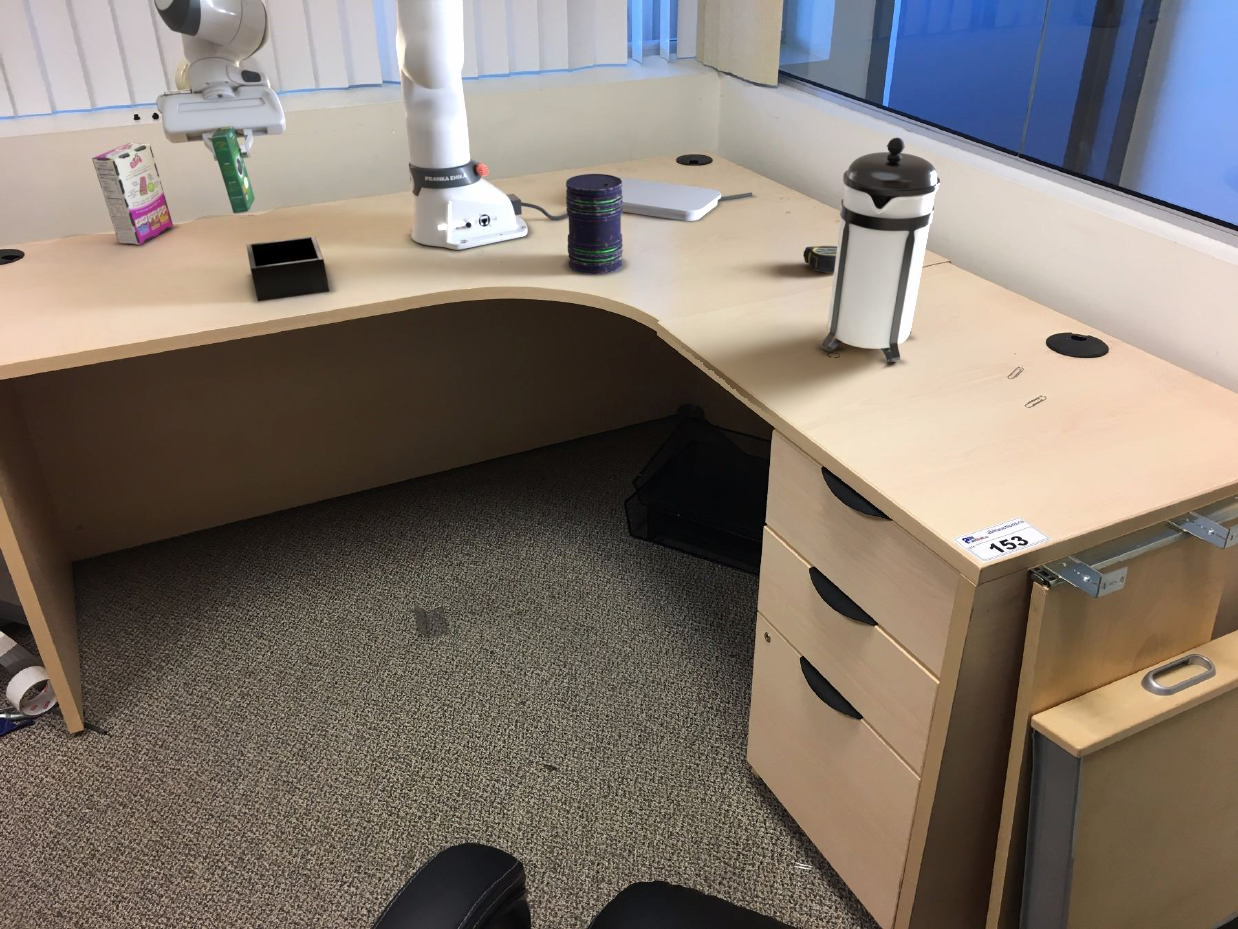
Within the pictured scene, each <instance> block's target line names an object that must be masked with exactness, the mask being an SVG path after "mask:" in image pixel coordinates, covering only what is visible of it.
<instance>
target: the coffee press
mask: <svg viewBox="0 0 1238 929" xmlns="http://www.w3.org/2000/svg"><path fill="white" fill-rule="evenodd" d="M886 148H887V151H881V152H880V151H879V152H873V153H867V154H864V155H861V156H859V157H857V158H856V159H854V160H853V161H852V162H851V163H850V165H849V166H848V168H847V170H846V171H845V172H844V173H843V176H842V182H843V185H844V190H843V191H844V192H843V198H842V199H841V202H840V208H839V209H840V210H839V216H840V223H839V231H838V239H837V254H836V262H835V269H834V273H833V277H832V278H833V279H832V287H831V295H830V302H829V312H828V320H827V328H828V330H829V331H828V333H827V335H826V337H825V338H824V339H823V340H822V342H821V348H822V349H824V350H825V351H826V352H828V353H832V352H834V350H836V348H837V347H838V346H840V344H842V343H844V344H847V345H850V346H852V347H856V348H860V349H869V350H870V349H871V350H872V349H873V350H879V349H880V350H881V351H882V352H883V354H884V356H885V357H884V358H885V360H886V361H887V363H889V364H890V363H896V362H899V361H900V360H901V354H900V348H899V345H901V344H902V343H904V342H905V341H906V340H907V339H908V338H909V337H910V336H911V334H912V330H911V328H912V323H913V318H914V312H915V307H916V302H917V297H918V291H919V286H920V278H921V274H922V269H923V263H924V258H925V257H924V256H925V251H926V246H927V240H928V235H929V229H930V225H931V224H932V222H933V218H934V217H933V216H934V212H935V211H934V210H935V207H934V201H935V195H936V193H937V191H938V189H939V188H940V184H941V179H940V177H939V176H938V173H937V169H936V168H935V166H934V165H933V164H932V163H931V162H930V161H929V160H926V159H925V158H923V157H920V156H917V155H914V154H910V153H903V151H904V150H905V149H906V145H905V142H904V140H903V139H902V138H900V137H893V138H891V139H890V140H889V141H888V143H887V145H886ZM834 338H835V339H834Z"/></svg>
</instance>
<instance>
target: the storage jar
mask: <svg viewBox="0 0 1238 929" xmlns="http://www.w3.org/2000/svg"><path fill="white" fill-rule="evenodd" d="M620 178H621V177H618V176H615V175H613V174H612V175H611V174H604V173H586V174H585V173H584V174H579V175H578V174H577V175H574V176H570V177H568V179H566V181H565V187H566V190H565V194H566V196H565V205H566V210H565V211H566V214H567V215H568V216H569V217H568V235H567V253H568V254H567V255H568V268H569V269H570V270H572V271H573V272H576V273H579V274H583V275H591V276H592V275H594V276H595V275H597V276H598V275H606V274H612V273H614V272H617V271H620V269H621V268H622V267H623V260H622V258H623V250H624V247H623V245H624V244H623V241H624V240H623V233H622V214H623V212H622V210H623V208H622V203H623V196H622V189H621V187H622V180H621V179H620Z"/></svg>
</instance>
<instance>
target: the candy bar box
mask: <svg viewBox="0 0 1238 929" xmlns="http://www.w3.org/2000/svg"><path fill="white" fill-rule="evenodd" d="M151 145H152V144H151V143H142V142H128V143H126V144H123V145H121V146H118V147H116V148H113V149H111V150H108V151H106V152H103V153H101V154H99V155H96V156H94V157H92V158H91V160H92V163H93V166H94V169H95V170H94V171H95V173H96V176H97V180H98V182H99V185H100V189H101V192H102V195H103V197H104V201H105V204H106V207H107V210H108V213H109V216H110V219H111V223H112V226H113V230H114V232H115V235H116V238H117V242H118V244H121V245H131V246H133V245H136V246H140V245H143V244H145V243H146V242H148V241H151V240H152V239H154V238H155V237H156V238H157V236H159V235H161V234H163V233H164V232H166V231H168V230H171V229H172V228H173V227H174V223H173V221H172V220H173V219H172V216H171V213H170V209H169V206H168V203H167V199H166V196H165V192H164V189H163V186H162V185H163V184H162V181H161V178H160V174H159V171H158V167H157V164H156V163H157V162H156V159H155V156H154V153H153V150H152V146H151Z"/></svg>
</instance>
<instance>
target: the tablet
mask: <svg viewBox="0 0 1238 929" xmlns="http://www.w3.org/2000/svg"><path fill="white" fill-rule="evenodd" d="M619 178H620V179H621V180H622V187H621V189H622V196H623V203H622V208H623V210H622V213H630V214H637V215H643V216H651V217H656V218H663V219H669V220H670V219H671V220H677V221H684V222H693V221H694V222H695V221H697V220H700V219H701V218H702V217H704V216H705V215H706V214H707V213H709V212H711V210H713V209H714V208H715V207H717V206H718V202H719V201H718V199H720V198H721V197H722V191H720V190H717V189H714V188H706V187H699V186H691V185H684V184H678V183H668V182H662V181H653V180H646V179H639V178H632V177H631V178H630V177H619Z"/></svg>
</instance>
